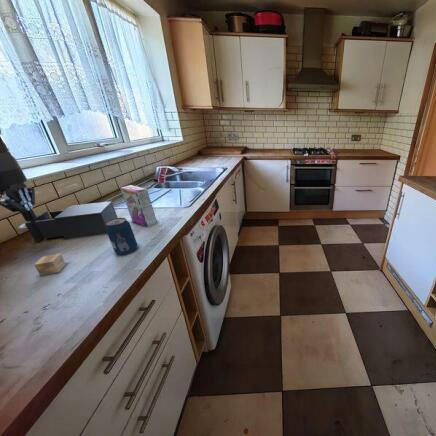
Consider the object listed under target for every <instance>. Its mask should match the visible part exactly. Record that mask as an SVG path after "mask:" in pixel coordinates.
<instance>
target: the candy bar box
mask: <svg viewBox="0 0 436 436" xmlns="http://www.w3.org/2000/svg"><path fill="white" fill-rule="evenodd" d="M120 192H121V194H122V197H123V200H124V203H125V205H126V207H127V210H128V213H129V215H130V219H131V221H132V222H133V223H135V224H138V225H141V226H144V227H150V226H153V225H155V224H158V220H157V216H156V214H155V212H154V207H153V204H152V202H151V198H150V195H149V191H148V189H147V188H146V187H141V186H137V185H133V184H129V185H126V186H122V187H120Z"/></svg>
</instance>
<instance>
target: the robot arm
mask: <svg viewBox="0 0 436 436" xmlns="http://www.w3.org/2000/svg"><path fill="white" fill-rule="evenodd" d="M27 181H28V178H27V177H26V175H25V173H24V171H23V169H22V168H21V166H20V164H19V162H18V160H17V159H16V157H15V156H14V154H13V153H12V151H11V150H10V147H9V146H8V145H7V143H6V141H5V139H4V138H3V136H2V130H1V128H0V196H1V199H0V206H1V207H3V208H5V209H7V210H8V211H10V212H12V213H20V214H21V215H22V218H23V219H24V221H25V222H30V221H34V220H36V219H37V217H36V216H37V215H36V213H35V212H34V209H33V208H34V207H33V206H34V205H36V190H35V188H34V187H27V185H26V182H27Z"/></svg>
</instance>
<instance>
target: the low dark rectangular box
mask: <svg viewBox="0 0 436 436" xmlns="http://www.w3.org/2000/svg"><path fill="white" fill-rule="evenodd" d="M63 210H64V211H63V212H62V213H60V214H59V215H58V216H56V217H55V218H54V219H55V221H56V223H57V225H58V227H59V228H60V230H61V232H62V234H63V236H62V237H63V238H64V240H71V239H77V238H84V237H85V238H86V237H92V236H99V235H106V234H107V232H106V230H105V227H106V222H107V221H109V220H112V219H115V218H119V217H118V214H117V212H116V209H115V207H114V204H113V201H111V200H110V201H102V202H101V201H100V202H92V203H84V204H83V203H81V204H73V205H70V206H68V207H67V208H65V209H63ZM107 235H108V234H107Z"/></svg>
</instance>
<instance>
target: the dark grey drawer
mask: <svg viewBox="0 0 436 436" xmlns="http://www.w3.org/2000/svg"><path fill="white" fill-rule="evenodd" d="M64 210H65V209H59V210H51V211H49V212H48V210H43V211H41V212H39V213H38V214H37V215H36V217H37V219H36V220H34V221H30V222H27V221H25V222H24V223H22V224H21V225H19V226H18V227H17V228H16V230H17V231H18V232H22V231H23V230H28V232H29V233H30V235H31V237H32V239H33V241H34V242H39V241H41V240H42V239H44V240H45V239H51V238H59V237H64V236H63V234H62V232H61V230H60V228H59V227H58V225H57V223H56V221H55V219H54V218H55V217H56V216H58V215H59V214H60V213H62V212H63V211H64Z"/></svg>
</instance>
